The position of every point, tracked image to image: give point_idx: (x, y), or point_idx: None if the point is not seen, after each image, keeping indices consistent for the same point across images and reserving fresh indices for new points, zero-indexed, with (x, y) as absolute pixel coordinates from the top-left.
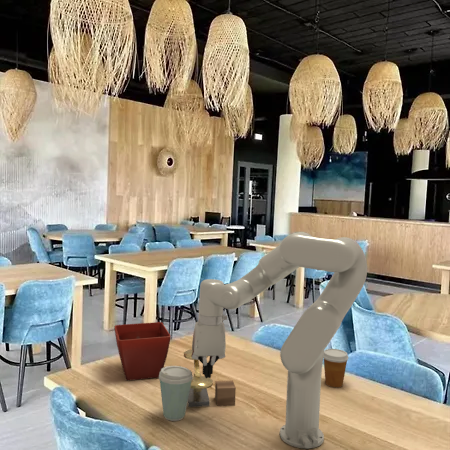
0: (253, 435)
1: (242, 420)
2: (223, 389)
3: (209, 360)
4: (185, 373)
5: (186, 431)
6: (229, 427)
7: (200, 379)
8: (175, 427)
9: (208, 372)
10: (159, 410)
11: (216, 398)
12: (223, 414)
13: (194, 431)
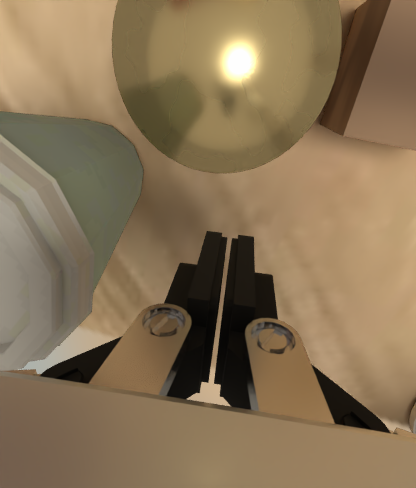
0: (341, 363)
1: (362, 278)
2: (381, 143)
3: (239, 364)
4: (14, 294)
5: (137, 281)
6: (288, 303)
7: (243, 19)
8: None
9: (221, 321)
10: (40, 95)
11: (337, 88)
12: (311, 213)
13: (163, 289)
